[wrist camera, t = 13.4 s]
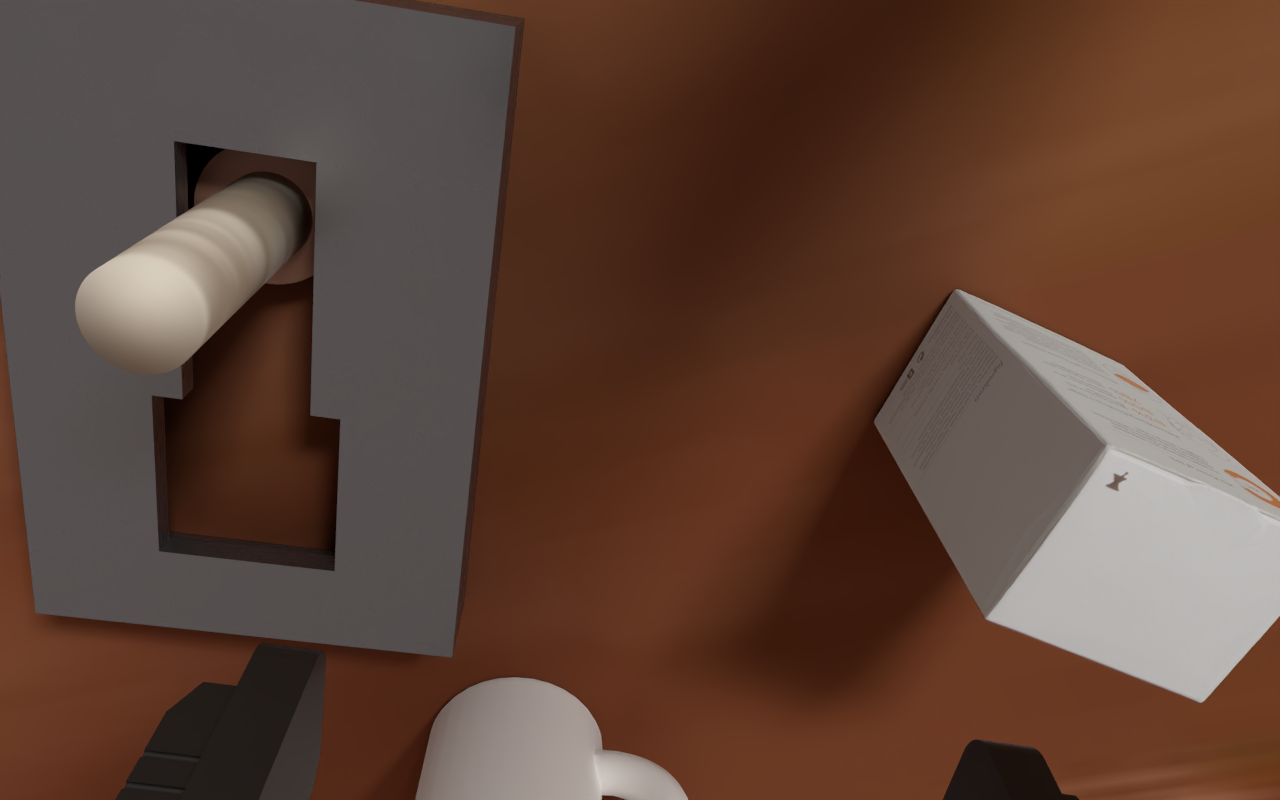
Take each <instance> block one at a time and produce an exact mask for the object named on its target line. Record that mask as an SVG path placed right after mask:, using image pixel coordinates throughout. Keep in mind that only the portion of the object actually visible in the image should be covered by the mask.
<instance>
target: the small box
mask: <svg viewBox="0 0 1280 800" xmlns="http://www.w3.org/2000/svg"><path fill="white" fill-rule="evenodd" d="M874 424H875V426H876V428H877V430H878V431H879V433H880V435H881V437H882V439H883V440H884V442H885V444H886V445H887V447H888V449H889V451H890V453H891V454H892V456H893V458H894V459H895V461H896V463H897V465H898V466H899V468H900V470H901V472H902V473H903V475H904V477H905V479H906V480H907V482H908V484H909V486H910V488H911V489H912V491H913V493H914V495H915V496H916V498H917V500H918V502H919V503H920V505H921V507H922V509H923V511H924V513H925V514H926V516H927V518H928V520H929V521H930V523H931V525H932V527H933V528H934V530H935V532H936V534H937V535H938V537H939V539H940V541H941V542H942V544H943V546H944V548H945V550H946V551H947V553H948V555H949V556H950V558H951V560H952V562H953V563H954V565H955V567H956V569H957V570H958V572H959V574H960V576H961V577H962V579H963V581H964V583H965V585H966V586H967V588H968V590H969V592H970V593H971V595H972V597H973V599H974V601H975V602H976V604H977V606H978V608H979V610H980V611H981V613H982V615H983V617H984V619H985V620H986V621H988V622H990V623H993V624H995V625H998V626H1001V627H1003V628H1006V629H1008V630H1011V631H1014V632H1016V633H1019V634H1022V635H1024V636H1027V637H1030V638H1032V639H1035V640H1037V641H1040V642H1042V643H1045V644H1047V645H1050V646H1053V647H1055V648H1058V649H1060V650H1063V651H1066V652H1068V653H1071V654H1074V655H1076V656H1079V657H1082V658H1084V659H1087V660H1089V661H1091V662H1094V663H1097V664H1099V665H1102V666H1105V667H1107V668H1110V669H1112V670H1115V671H1117V672H1120V673H1122V674H1125V675H1128V676H1131V677H1134V678H1136V679H1138V680H1141V681H1143V682H1146V683H1149V684H1152V685H1154V686H1157V687H1159V688H1162V689H1164V690H1167V691H1169V692H1172V693H1175V694H1177V695H1180V696H1182V697H1185V698H1188V699H1190V700H1193V701H1195V702H1197V703H1201V702H1203V701H1204V700H1205V699H1206V698H1207V697H1208V696H1209V695H1210V694H1211V693H1212V692H1213V690H1214V689H1215V688H1216V687H1217V686H1218V685H1219V684H1220V683H1221V682H1222V680H1223V679H1224V678H1225V677H1226V676H1227V675H1228V674H1229V672H1230V671H1231V670H1232V669H1233V668H1234V667H1235V665H1236V664H1237V663H1238V662H1239V661H1240V660H1241V659H1242V658H1243V657H1244V656H1245V654H1246V653H1247V652H1248V651H1249V650H1250V649H1251V648H1252V646H1253V645H1254V644H1255V643H1256V642H1257V641H1258V640H1259V639H1260V638H1261V636H1262V635H1263V634H1264V633H1265V632H1266V631H1267V630H1268V629H1269V627H1270V626H1271V625H1272V624H1273V623H1274V622H1275V621H1276V620H1277V618H1278V617H1279V616H1280V497H1279V496H1278V495H1277V494H1275V493H1274V492H1273V491H1272V490H1271V489H1270V488H1268V487H1267V486H1266V485H1265V484H1264V483H1262V482H1261V481H1260V480H1259V479H1258V478H1256V477H1255V476H1254V475H1253V474H1252V473H1250V472H1249V471H1248V470H1247V469H1246V468H1245V467H1243V466H1242V465H1241V464H1240V463H1239V462H1237V461H1236V460H1235V459H1234V458H1233V457H1231V456H1230V455H1229V454H1228V453H1227V452H1226V451H1224V450H1223V449H1222V448H1221V447H1220V446H1218V445H1217V444H1216V443H1215V442H1214V441H1213V440H1211V439H1210V438H1209V437H1208V436H1207V435H1205V434H1204V433H1203V432H1202V431H1200V430H1199V429H1198V428H1197V427H1195V426H1194V425H1193V424H1192V423H1191V422H1189V421H1188V420H1187V419H1186V418H1185V417H1183V416H1182V415H1181V414H1180V413H1179V412H1177V411H1176V410H1175V409H1174V408H1173V407H1171V406H1170V405H1169V404H1168V403H1167V402H1166V401H1164V400H1163V399H1162V398H1161V397H1160V396H1158V395H1157V394H1156V393H1155V392H1154V391H1153V390H1151V389H1150V388H1149V387H1148V386H1147V385H1145V384H1144V383H1143V382H1142V381H1141V380H1140V379H1138V378H1137V377H1136V376H1135V375H1134V374H1133V373H1131V372H1130V371H1129V370H1128V369H1127V368H1126V367H1124V366H1123V365H1121V364H1119V363H1117V362H1115V361H1113V360H1111V359H1109V358H1107V357H1105V356H1103V355H1101V354H1099V353H1097V352H1095V351H1092V350H1090V349H1088V348H1086V347H1084V346H1082V345H1080V344H1078V343H1075V342H1073V341H1071V340H1069V339H1067V338H1065V337H1063V336H1060V335H1058V334H1056V333H1054V332H1052V331H1050V330H1047V329H1045V328H1043V327H1041V326H1039V325H1037V324H1034V323H1032V322H1030V321H1028V320H1026V319H1023V318H1021V317H1019V316H1017V315H1015V314H1013V313H1010V312H1008V311H1006V310H1004V309H1002V308H1000V307H997V306H995V305H993V304H991V303H988V302H986V301H984V300H982V299H980V298H977V297H975V296H973V295H970V294H968V293H966V292H963V291H961V290H958V289H956V290H954V291H953V292H952V294H951V295H950V297H949V299H948V300H947V302H946V304H945V305H944V307H943V308H942V310H941V312H940V313H939V315H938V317H937V318H936V320H935V321H934V323H933V325H932V326H931V328H930V329H929V331H928V333H927V335H926V336H925V338H924V339H923V341H922V343H921V344H920V346H919V348H918V349H917V351H916V353H915V354H914V356H913V357H912V359H911V361H910V362H909V364H908V366H907V367H906V369H905V371H904V372H903V374H902V375H901V377H900V379H899V380H898V382H897V384H896V385H895V387H894V389H893V390H892V392H891V394H890V395H889V397H888V399H887V400H886V402H885V404H884V405H883V407H882V409H881V410H880V412H879V413H878V415H877V416H876V418H875V420H874Z"/></svg>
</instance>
